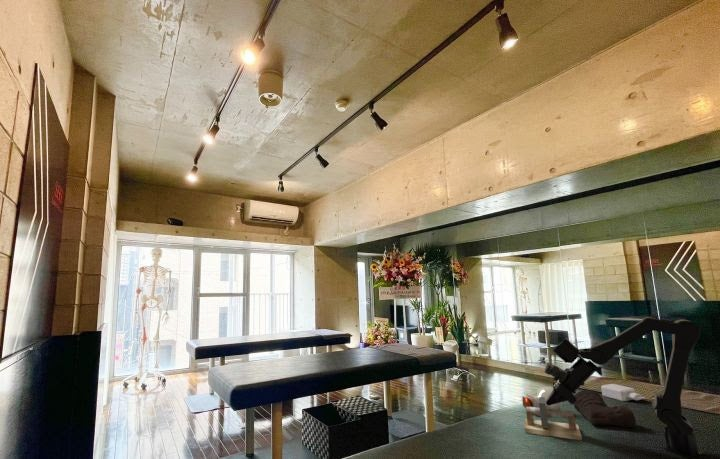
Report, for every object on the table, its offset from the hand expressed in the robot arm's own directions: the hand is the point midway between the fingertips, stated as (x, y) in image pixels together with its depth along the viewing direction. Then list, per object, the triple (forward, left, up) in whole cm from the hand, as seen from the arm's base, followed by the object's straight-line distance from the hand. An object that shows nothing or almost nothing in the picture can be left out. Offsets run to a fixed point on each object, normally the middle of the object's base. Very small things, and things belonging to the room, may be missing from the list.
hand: (547, 404), depth 122 cm
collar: (+1, +1, -7) cm, 7 cm away
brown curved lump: (+1, -25, -9) cm, 27 cm away
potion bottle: (+17, -12, -9) cm, 23 cm away
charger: (+19, -57, -9) cm, 61 cm away
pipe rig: (0, 0, -9) cm, 9 cm away
